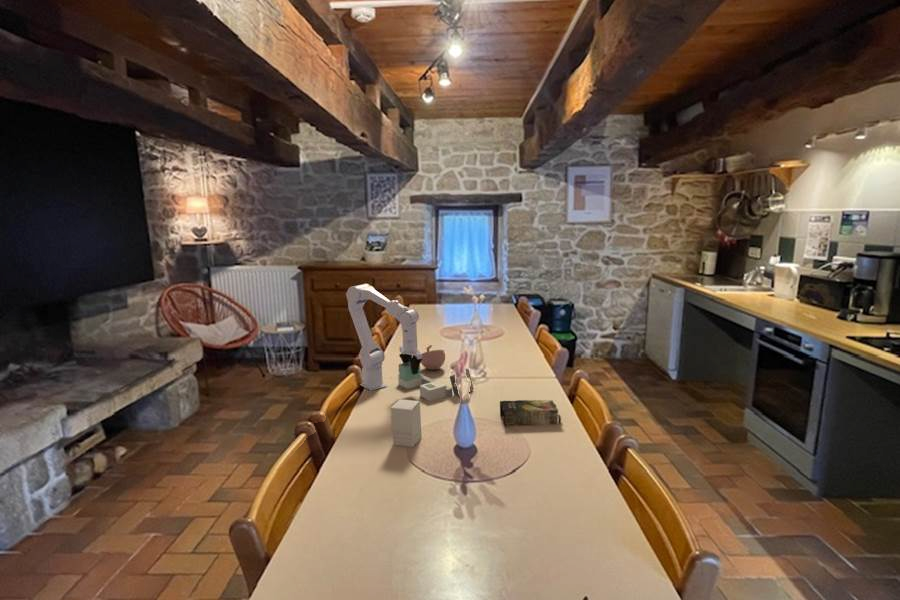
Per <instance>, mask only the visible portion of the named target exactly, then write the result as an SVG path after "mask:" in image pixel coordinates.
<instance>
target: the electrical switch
mask: <svg viewBox="0 0 900 600" xmlns="http://www.w3.org/2000/svg"><path fill="white" fill-rule="evenodd" d="M465 369H466V375H467V377H468V378H470V380H471V386H470V392H469V393H471V392H473V391H474V389H475V388H474V385H473V381H472V376H471V374H470V370H469V368H465ZM455 374H456V373H454V374H452V375H450V376H449V379H450V383H451V388H452V393H453V395H454V396H455V395H457V396H458V397H459V394H458V389H457V386H456V384H455Z"/></svg>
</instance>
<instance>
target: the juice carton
mask: <svg viewBox="0 0 900 600" xmlns="http://www.w3.org/2000/svg"><path fill="white" fill-rule="evenodd" d="M499 414H500V416H502V420H503V425H504V426H506V425H507V426H509V425H514V426H537V425H542V426H543V425H544V426H545V425H559V423H561V421H562V417H561V415H560V414H559V409H558V406H557V404H556V403H555V401H554V400H552V399H551V400H550V399H545V400H544V399H543V400H541V399H538V400H537V399H530V400H529V399H522V400H520V399H519V400H499Z"/></svg>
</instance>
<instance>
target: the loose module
mask: <svg viewBox="0 0 900 600" xmlns="http://www.w3.org/2000/svg"><path fill="white" fill-rule="evenodd" d="M420 366H421V364H420V365H419V369H418V374H414V375H413V374H412V369H411V364H410V362H406V363H403V362H402V363H399V364H398V375H399V377H400V379H401V380H403V381H405V382H407V381H410V380H414V379H417V378H420V377H421V374H422V373H421V367H420Z"/></svg>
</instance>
